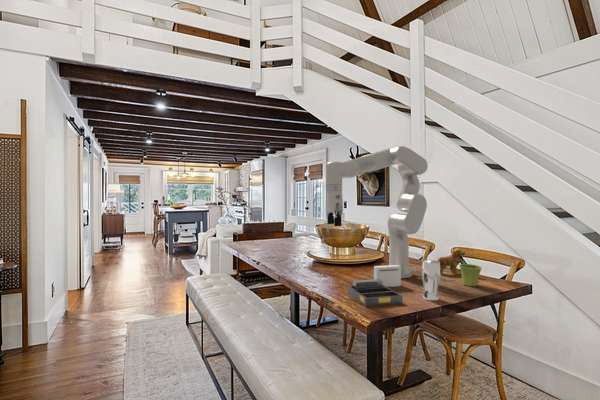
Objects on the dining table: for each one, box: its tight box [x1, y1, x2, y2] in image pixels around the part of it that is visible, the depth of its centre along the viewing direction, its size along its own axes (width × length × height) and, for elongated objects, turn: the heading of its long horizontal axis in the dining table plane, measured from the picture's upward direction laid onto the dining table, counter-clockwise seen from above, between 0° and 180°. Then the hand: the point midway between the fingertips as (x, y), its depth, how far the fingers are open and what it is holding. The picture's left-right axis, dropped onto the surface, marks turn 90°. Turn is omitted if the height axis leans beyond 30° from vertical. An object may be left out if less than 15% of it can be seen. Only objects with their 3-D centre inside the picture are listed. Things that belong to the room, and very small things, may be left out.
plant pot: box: [458, 263, 483, 288], centre depth 151 cm, size 9×9×9 cm
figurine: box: [436, 248, 466, 276], centre depth 172 cm, size 15×6×13 cm, turn 94°
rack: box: [347, 278, 403, 308], centre depth 132 cm, size 15×17×6 cm
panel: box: [373, 264, 402, 288], centre depth 149 cm, size 12×3×9 cm, turn 105°
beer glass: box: [421, 259, 441, 302], centre depth 132 cm, size 7×7×15 cm
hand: (334, 225), depth 153 cm, fingers open, 9 cm apart
